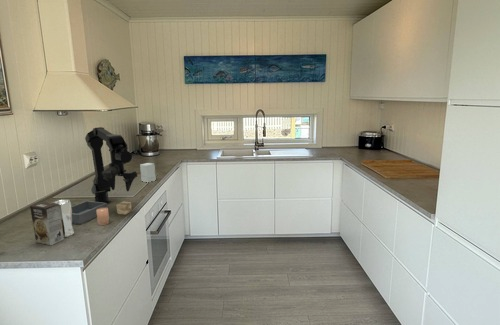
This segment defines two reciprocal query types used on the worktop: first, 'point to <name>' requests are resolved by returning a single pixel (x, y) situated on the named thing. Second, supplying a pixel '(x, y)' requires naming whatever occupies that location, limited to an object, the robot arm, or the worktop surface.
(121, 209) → the beech cube
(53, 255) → the worktop surface
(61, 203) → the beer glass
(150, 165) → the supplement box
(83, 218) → the tote
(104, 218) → the terracotta cylinder
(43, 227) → the coffee box
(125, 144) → the robot arm
